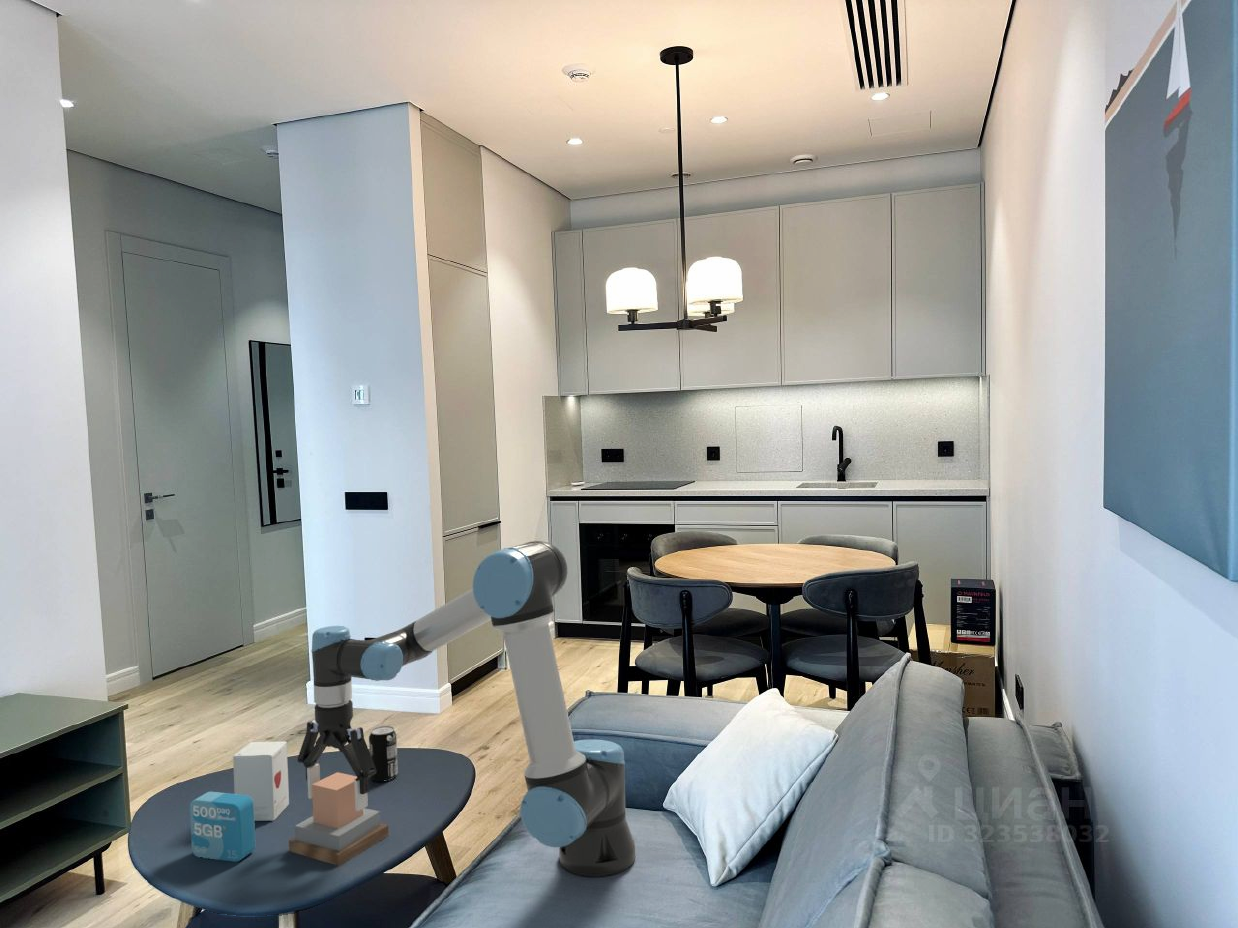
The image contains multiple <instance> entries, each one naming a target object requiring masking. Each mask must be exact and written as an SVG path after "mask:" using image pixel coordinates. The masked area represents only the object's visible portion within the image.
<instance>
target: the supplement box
mask: <svg viewBox="0 0 1238 928" xmlns="http://www.w3.org/2000/svg"><path fill="white" fill-rule="evenodd" d="M232 759H233V762H232V763H233V785H234V786H233V788H234V790H233V791H234V793H233V794H240V795H248V796H250V797H251V798H252V800H253V803H254V822H259V821H261V822H264V821H265V822H266V821H271V822H274V821H275V820H276V819H277V818H278V817H279V816H280V815H281V813H282V812H283V811H284V810H285V809H286V808H287V807H288V806H289V805H290V796H289V795H290V794H289V791H290V790H289V789H290V788H289V767H288V743H287V741H251V742H249V743H248V744H246V745H245V746H244V747H242V748H240V750H239V751H238V752H236V753H235V754H234V755H233V756H232Z"/></svg>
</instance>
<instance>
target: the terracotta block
mask: <svg viewBox="0 0 1238 928" xmlns="http://www.w3.org/2000/svg"><path fill="white" fill-rule="evenodd" d="M356 778H357V776H356V775H351V774H347V773H343V772H342V773H341V772H338V771H337V772H335V773H332V774H331V775H329V776H326V777H324V778H323V779H320V781H318V782H316V783H314V784H312V797H313V798H312V816H313V821H314V823H318V824H322V825H325V826H329V827H333V828H337V829H339V828H341V827H343V826H344V825H346V824H348V823H350V822H352V821H353V820H355V819H357V818H359V817H360V816H362V815H363V809H361V810H359V811H356V809H355V785H354V779H356Z"/></svg>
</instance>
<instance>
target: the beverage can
mask: <svg viewBox="0 0 1238 928" xmlns="http://www.w3.org/2000/svg"><path fill="white" fill-rule="evenodd" d="M369 732H370V734H369V736H368V750H369V752H370V755H371V757H372V760H373V763H374V765H375V768H376V771H377V772H376V774H374V775H372V776H370V778H371V779H372V780H373V781H374V780H375V782H378V781H384V780H389V779H391V778H393V777H395V776H398V774H399V771H398V770H399V769H398V765H399V764H398V744H397V733H396V731H395V727H394V726H391V725H380V726H376V727H373V728H372V729H370V731H369ZM395 778H396V777H395ZM389 781H390V780H389ZM384 782H385V781H384Z"/></svg>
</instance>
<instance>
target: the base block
mask: <svg viewBox="0 0 1238 928" xmlns="http://www.w3.org/2000/svg"><path fill="white" fill-rule="evenodd" d="M388 835H389V825H388V824H385V823H381V822H380V826H379V827H377V828H375V829H374V830H372V831H371V832H369V833H367V834H366V835H364V836H363V837H361V838H360V839H358V840H356V841H355V842H353V843H352V844H350V845H349V846H347V847H345V848H344V849H342V850H341V851H338V850H334V849H330V848H326V847H321V846H317V845H313V844H309V843H305V842H301V841H297V840H295V836H294V837H293V838H291V839H288V849H289V850H288V851H289V852H291V853H294V854H297V855H300V856H305V857H307V858H311V859H314V860H318V861H320V862H323V863H324V862H325V863H328V864H332V865H334V866H337V867H339V866H341V865H343V864H344V863H346V862H348V861H350V860H351V859H352V858H354V857H356V856H357V855H359V854H361V853H362V852H364V851H366V850H368V849H369V848H371V847H373V846H375V845H376V844H378V843H380V840H381V841H382V840H384V839H386V838H387V837H389V836H388ZM386 836H387V837H386ZM385 837H386V838H385Z"/></svg>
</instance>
